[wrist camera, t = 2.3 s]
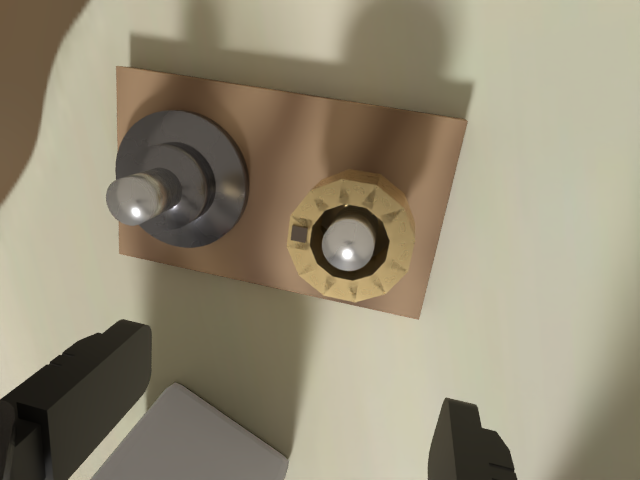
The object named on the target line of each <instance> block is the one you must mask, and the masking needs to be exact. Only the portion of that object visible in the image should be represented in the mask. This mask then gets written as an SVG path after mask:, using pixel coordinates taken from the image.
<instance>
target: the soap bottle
mask: <svg viewBox="0 0 640 480" xmlns="http://www.w3.org/2000/svg"><path fill="white" fill-rule="evenodd" d="M288 463H289V461H288V460H287V459H286V458H285V456H284V455H282V454H281V453H279V452H278V451H276V450H275V449H273V448H272V447H271V446H269V445H268V444H266V443H265V442H263V441H262V440H260V439H259V438H258V437H256V436H255V435H253V434H252V433H250V432H249V431H247V430H246V429H244V428H243V427H242V426H240V425H239V424H237V423H236V422H234V421H233V420H231V419H230V418H229V417H227V416H226V415H224V414H223V413H221V412H220V411H218V410H217V409H216V408H214V407H213V406H211V405H210V404H208V403H207V402H205V401H204V400H203V399H201V398H200V397H198V396H197V395H195V394H194V393H192V392H191V391H190V390H188V389H187V388H185V387H184V386H182V385H180V384H178V383H175V382H174V383H173V384H172V385H170V386H169V387H167V388H166V389H165V390H164V391H163V392H162V394H161V395H160V396H159V397H158V398H157V400H156V401H155V402H154V403H153V404H152V406H151V407H150V408H149V409H148V410H147V412H146V413H145V414H144V415H143V417H142V418H141V419H140V420H139V421H138V423H137V424H136V425H135V426H134V427H133V429H132V430H131V431H130V432H129V433H128V435H127V436H126V437H125V438H124V439H123V441H122V442H121V443H120V444H119V445H118V447H117V448H116V449H115V450H114V451H113V453H112V454H111V455H110V456H109V457H108V459H107V460H106V461H105V462H104V464H103V465H102V466H101V467H100V468H99V470H98V471H97V472H96V473H95V474H94V476H93V477H92V478H91V479H90V480H284V478H285V475H286V472H287V469H288Z"/></svg>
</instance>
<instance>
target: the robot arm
mask: <svg viewBox="0 0 640 480" xmlns="http://www.w3.org/2000/svg"><path fill="white" fill-rule="evenodd" d="M151 350H152V332H151V328H150V326H148V325H145V324H140V323H136V322H132V321H128V320H124V319H122V320H119V321H118V322H116V323H115V324H114V325H113V326H111V327H110V328H109V329H108V330H106V331H105V332H104V333H103V334H101V333H96V334H94V335H91V336H89V337H86V338H84V339H81V340H79V341H77V342H76V343H75V344H73V345H72V346H71V347H69V348H68V349H67V350H65V351H64V352H63V354H62V355H59V356H57V357H56V358H55V359H53V360H52V361H51V362H50V364H49V365H45V366H44V367H43V368H41V369H40V370H39V371H37V372H36V373H35V374H33V375H32V376H31V377H29V378H28V379H27V380H25V381H24V382H23V383H22V384H20V385H19V386H18V387H16V388H15V389H14V390H12V391H11V392H10V393H8V394H7V395H6V396H4V397H3V398H2V399H0V480H68V479H69V478H70V477H71V476H72V474H73V473H74V472H75V471H76V470H77V469H78V468H79V466H80V465H81V464H82V463H83V462H84V461H85V460H86V459H87V457H88V456H89V455H90V454H91V453H92V452H93V451H94V449H95V448H96V447H97V446H98V445H99V444H100V443H101V442H102V440H103V439H104V438H105V437H106V436H107V435H108V434H109V432H110V431H111V430H112V429H113V428H114V427H115V426H116V425H117V423H118V422H119V421H120V420H121V419H122V418H123V417H124V415H125V414H126V413H127V412H128V411H129V410H130V409H131V408H132V406H133V405H134V404H135V403H136V402H137V401H138V400H139V398H140V397H141V396H142V395H143V394H144V392H145V390H146V388H147V386H148V384H149V381H150V377H151ZM428 480H517V477H516V473H514V465H513V462H512V458H511V454H510V450H509V449H508V447H507V446H506V444H505V443H504V442H503V440H502V439H501V437H500V436H499V435H498V433H497V432H496V431H492V430H488V429H484V428H482V427H481V422H480V417H479V412H478V407H477V405H475V404H471V403H467V402H463V401H459V400H454V399H450V398H445V399H444V402H443V404H442V408H441V411H440V415H439V418H438V422H437V425H436V429H435V432H434V436H433V439H432V443H431V447H430V452H429V459H428Z"/></svg>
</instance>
